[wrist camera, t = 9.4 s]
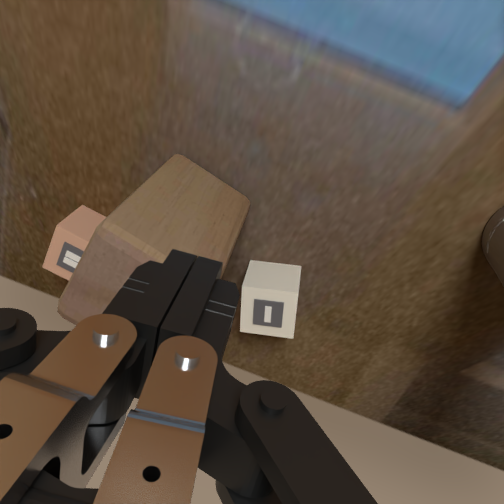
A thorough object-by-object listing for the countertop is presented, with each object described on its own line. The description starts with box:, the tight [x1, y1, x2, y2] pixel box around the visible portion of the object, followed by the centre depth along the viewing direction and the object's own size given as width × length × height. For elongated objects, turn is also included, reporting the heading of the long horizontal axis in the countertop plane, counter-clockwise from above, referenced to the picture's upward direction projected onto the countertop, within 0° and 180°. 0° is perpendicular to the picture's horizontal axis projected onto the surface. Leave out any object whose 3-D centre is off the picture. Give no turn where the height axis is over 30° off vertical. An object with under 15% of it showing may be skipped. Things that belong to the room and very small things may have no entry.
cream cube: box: [240, 260, 301, 339], centre depth 54 cm, size 6×6×6 cm
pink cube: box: [43, 205, 106, 280], centre depth 55 cm, size 6×6×6 cm
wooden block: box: [58, 154, 250, 325], centre depth 45 cm, size 10×10×20 cm
